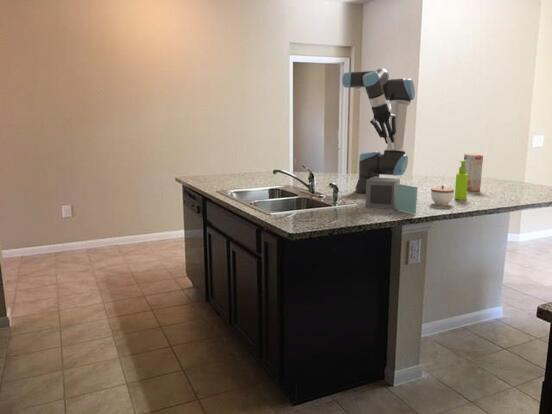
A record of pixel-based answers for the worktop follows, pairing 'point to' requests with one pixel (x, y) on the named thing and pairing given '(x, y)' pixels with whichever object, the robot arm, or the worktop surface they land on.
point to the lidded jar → (442, 195)
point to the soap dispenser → (461, 182)
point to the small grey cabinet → (380, 192)
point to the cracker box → (473, 171)
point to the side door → (405, 198)
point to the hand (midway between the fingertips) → (392, 148)
